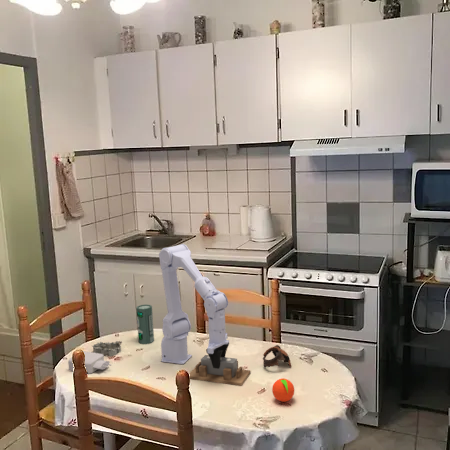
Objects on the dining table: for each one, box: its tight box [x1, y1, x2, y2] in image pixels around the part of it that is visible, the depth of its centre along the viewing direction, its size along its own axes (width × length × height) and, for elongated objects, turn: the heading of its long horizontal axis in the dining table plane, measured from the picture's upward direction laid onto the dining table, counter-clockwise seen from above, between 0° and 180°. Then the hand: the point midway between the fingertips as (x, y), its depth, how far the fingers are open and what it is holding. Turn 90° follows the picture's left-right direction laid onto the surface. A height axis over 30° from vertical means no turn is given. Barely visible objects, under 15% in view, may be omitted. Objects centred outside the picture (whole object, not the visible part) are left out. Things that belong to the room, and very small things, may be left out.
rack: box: [188, 360, 252, 387], centre depth 179 cm, size 20×10×4 cm, turn 70°
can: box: [135, 304, 155, 345], centre depth 213 cm, size 6×6×15 cm
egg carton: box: [91, 340, 123, 357], centre depth 205 cm, size 11×8×4 cm
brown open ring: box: [262, 344, 292, 369], centre depth 186 cm, size 12×10×8 cm
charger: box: [67, 350, 112, 375], centre depth 189 cm, size 5×9×15 cm
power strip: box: [200, 354, 238, 377], centre depth 179 cm, size 12×4×5 cm, turn 70°
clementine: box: [271, 377, 295, 403], centre depth 160 cm, size 8×7×7 cm
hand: (218, 365), depth 179 cm, fingers closed on power strip, 4 cm apart
